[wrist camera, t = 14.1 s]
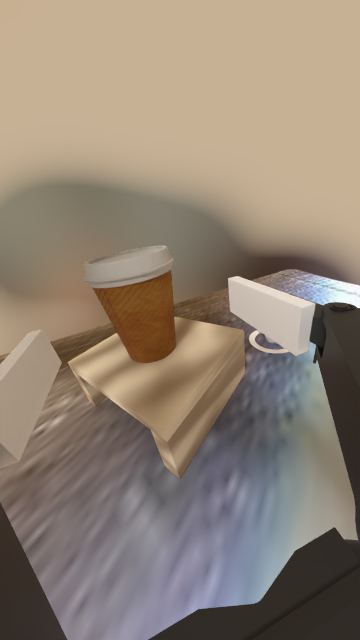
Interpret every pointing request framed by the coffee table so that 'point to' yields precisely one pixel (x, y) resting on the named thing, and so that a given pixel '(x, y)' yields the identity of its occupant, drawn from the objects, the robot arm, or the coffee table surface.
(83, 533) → the coffee table surface
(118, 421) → the coffee table surface
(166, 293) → the disposable coffee cup
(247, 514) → the coffee table surface
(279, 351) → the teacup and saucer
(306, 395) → the coffee table surface
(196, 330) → the maple shelf
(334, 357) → the robot arm
